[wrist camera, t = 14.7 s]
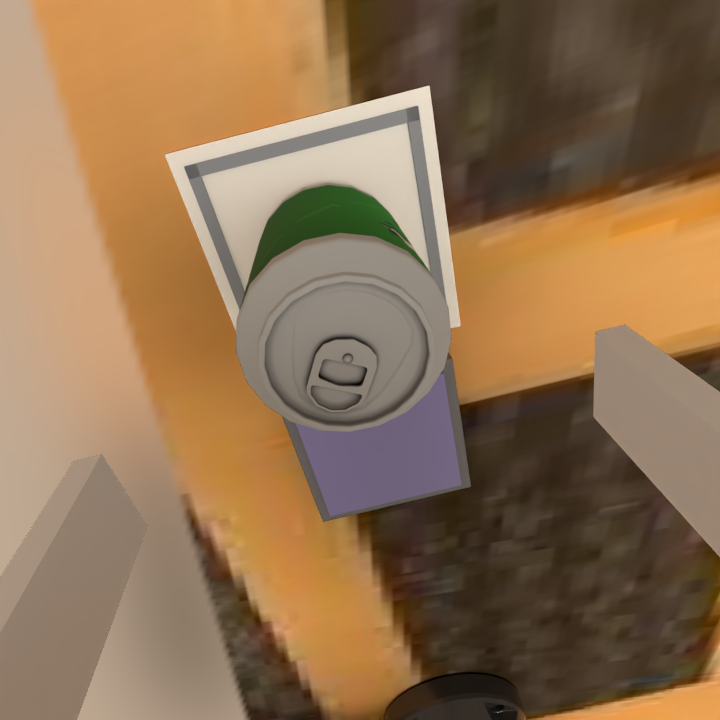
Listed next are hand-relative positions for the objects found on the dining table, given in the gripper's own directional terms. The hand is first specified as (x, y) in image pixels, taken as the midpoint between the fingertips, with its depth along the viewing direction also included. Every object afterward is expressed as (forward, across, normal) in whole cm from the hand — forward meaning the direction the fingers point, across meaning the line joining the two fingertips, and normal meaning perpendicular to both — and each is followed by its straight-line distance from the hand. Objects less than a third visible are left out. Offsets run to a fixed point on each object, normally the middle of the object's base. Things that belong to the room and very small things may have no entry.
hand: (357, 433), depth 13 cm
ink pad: (+16, 0, +13) cm, 20 cm away
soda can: (+16, 0, 0) cm, 16 cm away
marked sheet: (+16, 0, -1) cm, 16 cm away
